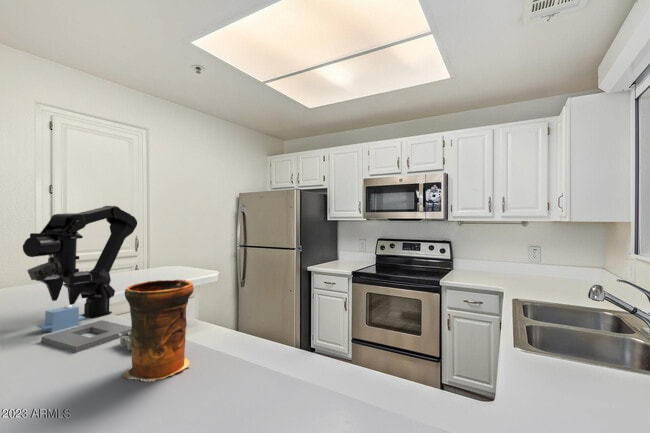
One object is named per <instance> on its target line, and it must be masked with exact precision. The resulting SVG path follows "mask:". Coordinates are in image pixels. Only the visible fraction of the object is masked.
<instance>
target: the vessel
mask: <svg viewBox="0 0 650 433" xmlns="http://www.w3.org/2000/svg"><path fill="white" fill-rule="evenodd" d="M194 288H195V287H194V284H193V283H192V282H191V281H189V280H186V279H172V280H171V279H170V280H168V279H167V280H161V279H158V280H148V281H147V280H146V281H144V282H140V283H139V282H138V283H135V284H133V285H130V286H127V287H126V288H125V290H124V297H125V299H126V301H127V302H128V306H129V312H130V313H129V314H130V319H131V320H130V322H131V327H132V328H131V350H130V351H131V366H132V368H131V369H129V368H127V370H126V371H124V374H123V375H122V377H124V378H126V379H128V380H131V379H132V378H133V379H135V378H136V379H135V380H139V379H142V380H143V381H144V380H145V382H151V381H153V382H154V383H155V381H157V380H164V379H165V378H166V379H167V377H170V376H174V375H175V374H176V373H179V372H182V371H184V370H185V369H186V368H189V367H190V366H189V365H190V361H189V359H188V358H186V357H185V352H186V348H185V347H186V334H187V333H186V331H187V330H186V328H187V307H188V306H187V305H188V304H189V298H190V296H192V294H193V293H194ZM142 380H141V381H142ZM148 380H150V381H148ZM153 382H152V383H153Z"/></svg>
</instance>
